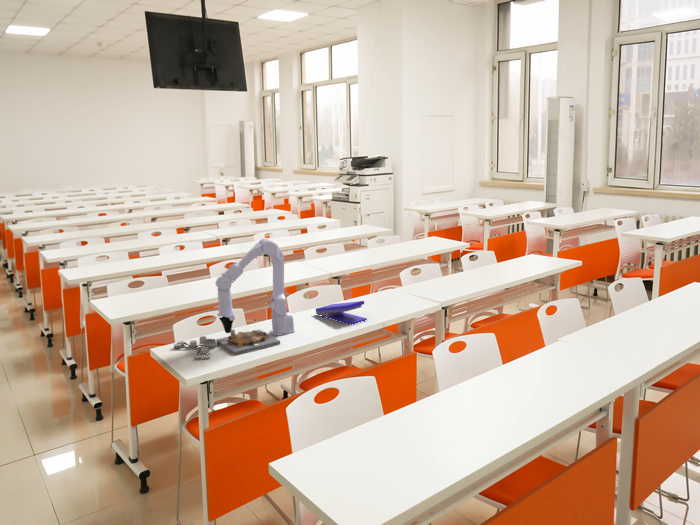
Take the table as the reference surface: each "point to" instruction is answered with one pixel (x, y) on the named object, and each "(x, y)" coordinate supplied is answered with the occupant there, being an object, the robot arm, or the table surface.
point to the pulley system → (207, 345)
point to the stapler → (341, 312)
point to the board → (248, 348)
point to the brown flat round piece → (246, 337)
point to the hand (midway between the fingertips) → (228, 332)
